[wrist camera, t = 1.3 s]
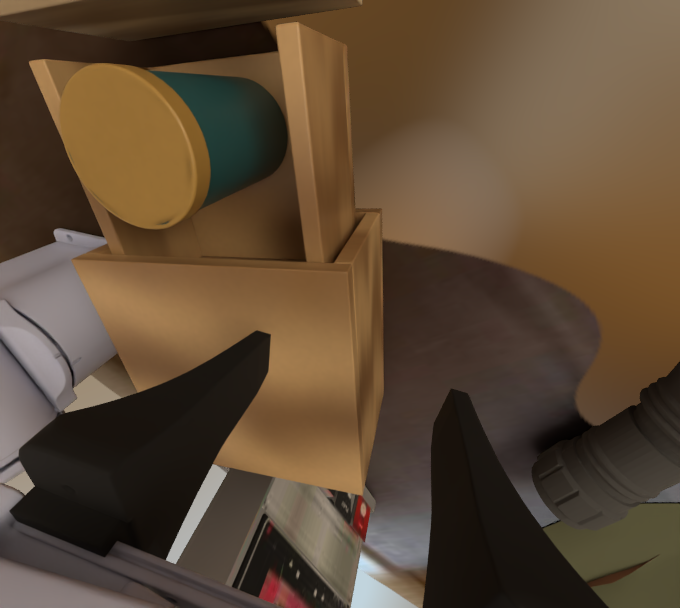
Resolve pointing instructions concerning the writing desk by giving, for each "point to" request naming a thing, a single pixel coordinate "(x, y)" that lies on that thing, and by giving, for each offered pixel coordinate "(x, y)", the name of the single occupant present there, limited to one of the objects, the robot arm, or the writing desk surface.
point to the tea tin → (167, 139)
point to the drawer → (279, 80)
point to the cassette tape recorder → (281, 540)
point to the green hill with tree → (628, 557)
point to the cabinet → (285, 346)
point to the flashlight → (615, 461)
